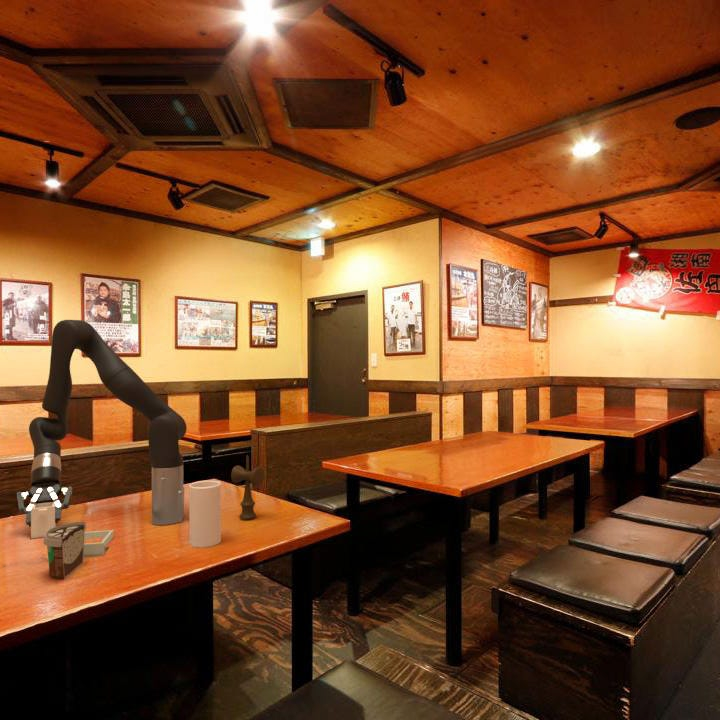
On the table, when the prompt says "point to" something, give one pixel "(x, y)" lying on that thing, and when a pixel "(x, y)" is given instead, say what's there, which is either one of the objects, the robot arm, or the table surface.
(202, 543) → the cup
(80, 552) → the food container
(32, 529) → the cream open box
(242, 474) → the kendama
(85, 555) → the tray
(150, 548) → the table surface
